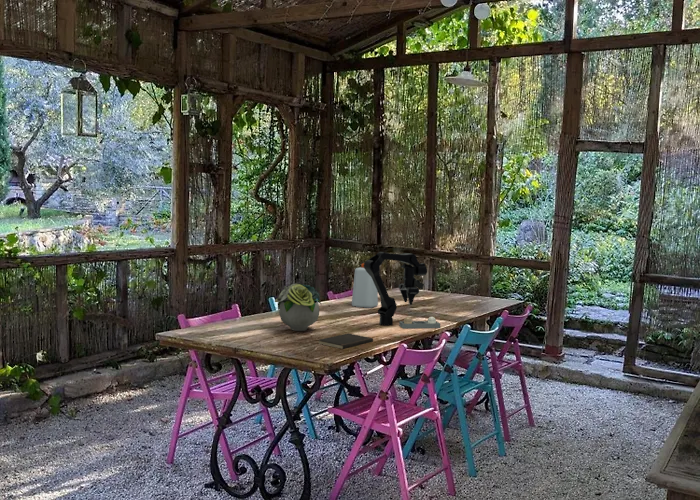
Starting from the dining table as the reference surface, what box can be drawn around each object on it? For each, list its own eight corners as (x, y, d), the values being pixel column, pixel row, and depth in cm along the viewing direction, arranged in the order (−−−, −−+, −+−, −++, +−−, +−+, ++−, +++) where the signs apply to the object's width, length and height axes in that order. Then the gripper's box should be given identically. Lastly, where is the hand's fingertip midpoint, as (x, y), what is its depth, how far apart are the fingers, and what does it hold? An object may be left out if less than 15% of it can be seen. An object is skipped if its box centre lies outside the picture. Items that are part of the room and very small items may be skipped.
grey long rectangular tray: (403, 330, 345) (403, 324, 344) (399, 327, 352) (399, 321, 352) (440, 329, 350) (440, 323, 349) (435, 327, 357) (435, 320, 357)
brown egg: (405, 328, 347) (405, 317, 346) (402, 326, 351) (403, 316, 350) (412, 327, 348) (413, 317, 347) (410, 326, 352) (410, 316, 351)
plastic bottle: (359, 303, 433) (360, 262, 431) (379, 305, 427) (381, 263, 424) (349, 306, 420) (350, 263, 417) (370, 308, 413) (371, 265, 411)
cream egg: (436, 327, 351) (437, 317, 350) (429, 327, 350) (429, 317, 349) (433, 325, 355) (434, 315, 354) (426, 326, 354) (426, 316, 354)
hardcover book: (317, 344, 307) (317, 339, 307) (348, 337, 325) (348, 333, 325) (342, 350, 297) (343, 345, 297) (373, 342, 315) (373, 338, 314)
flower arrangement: (269, 326, 346) (270, 281, 344) (314, 324, 355) (315, 280, 353) (281, 335, 323) (282, 287, 321) (328, 333, 331) (330, 286, 330)
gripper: (428, 277, 353) (427, 306, 354) (417, 274, 371) (416, 300, 372) (409, 277, 350) (408, 306, 351) (398, 273, 368) (397, 301, 369)
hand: (408, 303), depth 361 cm, fingers open, 9 cm apart
